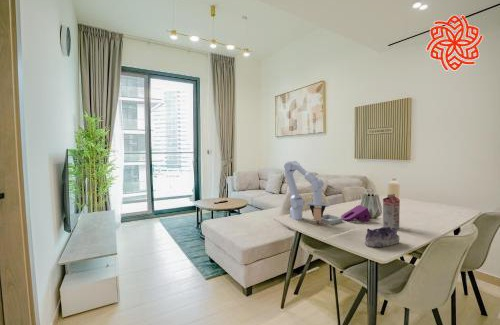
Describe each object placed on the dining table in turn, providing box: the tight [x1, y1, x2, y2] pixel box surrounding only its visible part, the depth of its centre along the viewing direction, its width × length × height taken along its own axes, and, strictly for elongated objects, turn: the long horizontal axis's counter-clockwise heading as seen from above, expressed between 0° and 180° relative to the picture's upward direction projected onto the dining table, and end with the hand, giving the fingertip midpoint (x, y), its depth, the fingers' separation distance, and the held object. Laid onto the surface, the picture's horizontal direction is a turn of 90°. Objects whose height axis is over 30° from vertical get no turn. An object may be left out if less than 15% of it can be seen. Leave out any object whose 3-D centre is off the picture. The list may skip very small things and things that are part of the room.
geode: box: [364, 226, 401, 249], centre depth 129 cm, size 20×12×10 cm, turn 114°
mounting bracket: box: [340, 204, 371, 223], centre depth 171 cm, size 10×9×19 cm
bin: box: [320, 213, 343, 226], centre depth 168 cm, size 13×12×4 cm
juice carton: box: [382, 193, 401, 230], centre depth 154 cm, size 7×7×22 cm
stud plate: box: [309, 220, 327, 227], centre depth 163 cm, size 9×9×4 cm
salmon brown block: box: [313, 206, 322, 222], centre depth 163 cm, size 5×5×8 cm
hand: (317, 216), depth 163 cm, fingers closed on salmon brown block, 5 cm apart
